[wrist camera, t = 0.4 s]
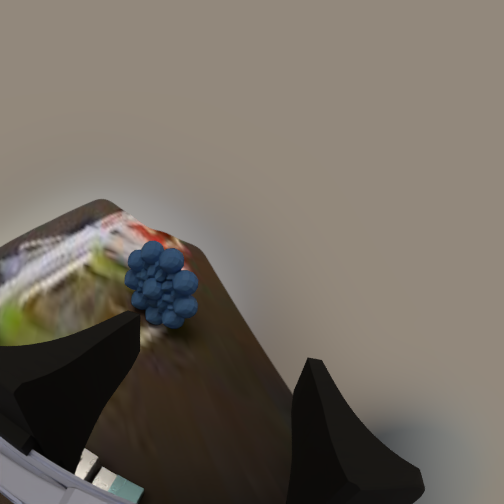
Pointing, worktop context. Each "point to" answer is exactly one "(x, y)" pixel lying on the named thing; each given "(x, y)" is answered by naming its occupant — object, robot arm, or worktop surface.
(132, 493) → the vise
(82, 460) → the grey hollow block
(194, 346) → the worktop surface
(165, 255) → the grapes
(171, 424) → the worktop surface
